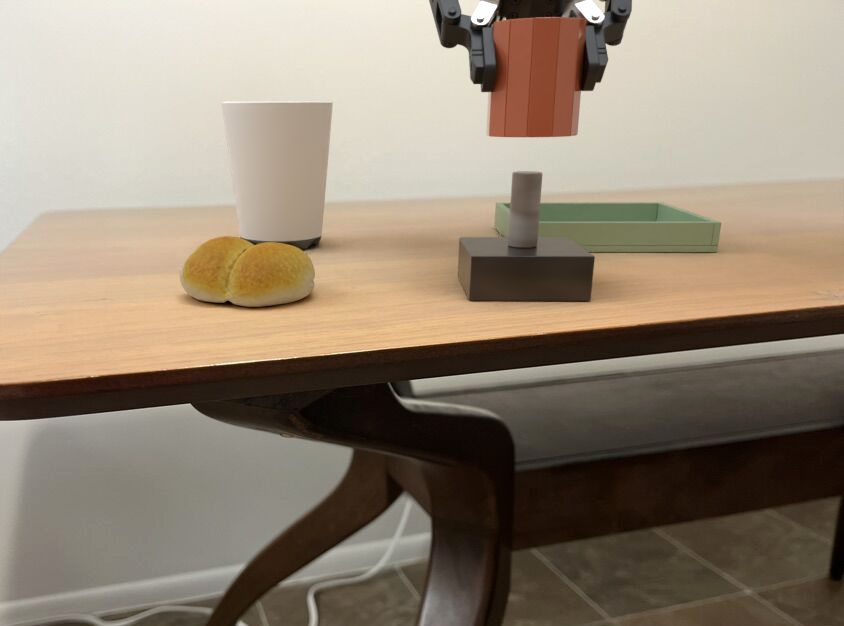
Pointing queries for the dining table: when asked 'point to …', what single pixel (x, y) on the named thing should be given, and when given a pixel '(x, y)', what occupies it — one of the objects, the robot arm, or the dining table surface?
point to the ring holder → (525, 256)
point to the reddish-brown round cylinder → (536, 77)
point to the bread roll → (247, 272)
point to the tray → (622, 226)
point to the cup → (279, 168)
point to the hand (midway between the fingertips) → (540, 81)
